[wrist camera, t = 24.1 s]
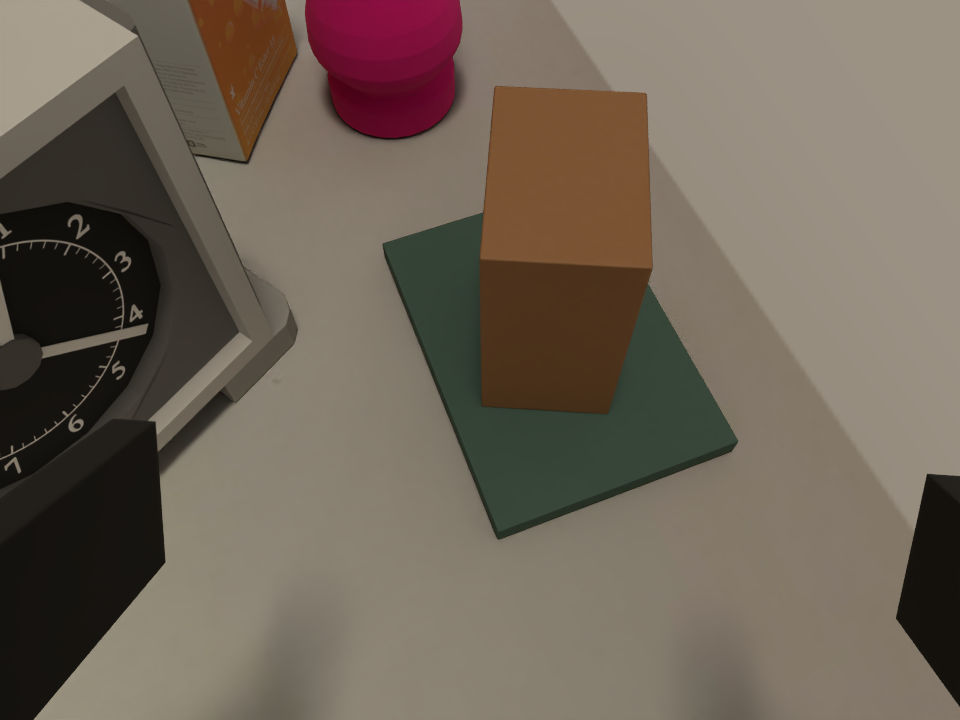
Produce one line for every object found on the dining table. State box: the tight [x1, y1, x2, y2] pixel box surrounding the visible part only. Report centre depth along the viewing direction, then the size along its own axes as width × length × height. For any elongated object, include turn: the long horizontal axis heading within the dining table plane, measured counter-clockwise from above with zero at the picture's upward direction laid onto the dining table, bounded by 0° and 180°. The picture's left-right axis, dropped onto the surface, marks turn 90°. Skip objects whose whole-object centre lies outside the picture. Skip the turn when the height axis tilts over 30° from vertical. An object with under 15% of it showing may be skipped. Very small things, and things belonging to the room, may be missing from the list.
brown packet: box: [479, 86, 653, 414], centre depth 30 cm, size 5×7×10 cm
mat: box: [383, 213, 738, 539], centre depth 35 cm, size 14×10×1 cm
